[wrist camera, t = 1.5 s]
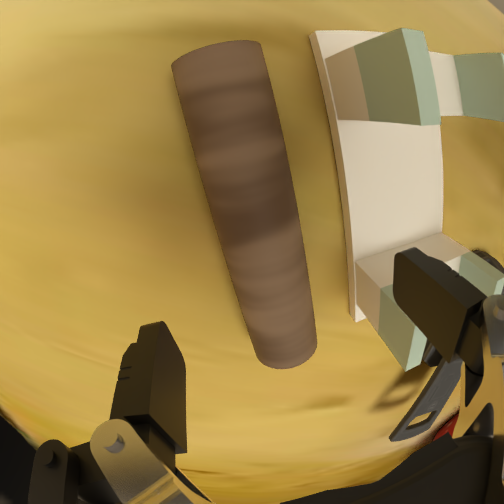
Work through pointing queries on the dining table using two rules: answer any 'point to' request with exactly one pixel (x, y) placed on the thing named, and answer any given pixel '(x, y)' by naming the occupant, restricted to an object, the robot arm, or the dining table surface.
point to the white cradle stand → (399, 161)
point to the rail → (250, 194)
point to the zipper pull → (435, 383)
